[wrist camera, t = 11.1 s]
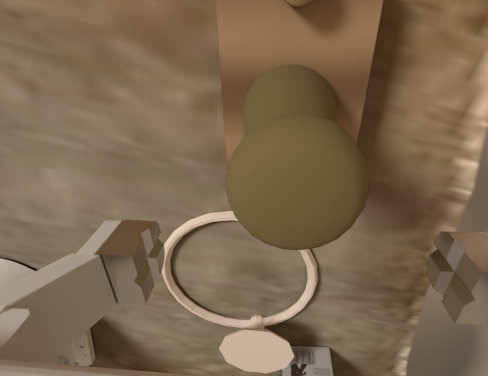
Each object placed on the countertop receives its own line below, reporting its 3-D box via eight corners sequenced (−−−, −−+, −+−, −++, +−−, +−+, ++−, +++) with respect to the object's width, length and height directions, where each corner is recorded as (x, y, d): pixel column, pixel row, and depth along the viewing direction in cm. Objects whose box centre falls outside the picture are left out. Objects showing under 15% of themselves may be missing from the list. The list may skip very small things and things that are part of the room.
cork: (356, 92, 18) (442, 177, 8) (304, 169, 21) (324, 295, 11) (269, 45, 17) (255, 79, 7) (228, 132, 20) (181, 235, 10)
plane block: (340, 175, 24) (353, 210, 20) (233, 172, 25) (224, 205, 21) (374, -35, 17) (406, -53, 13) (223, -28, 18) (205, -42, 14)
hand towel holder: (301, 220, 22) (341, 368, 31) (297, 190, 26) (334, 331, 35) (114, 255, 26) (199, 377, 35) (135, 225, 30) (207, 343, 39)
